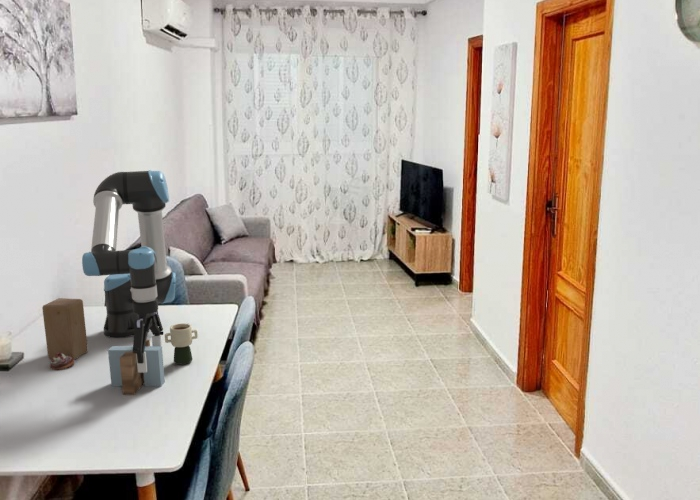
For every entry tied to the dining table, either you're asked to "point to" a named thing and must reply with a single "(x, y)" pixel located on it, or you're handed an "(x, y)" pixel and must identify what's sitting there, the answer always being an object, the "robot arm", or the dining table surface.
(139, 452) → the dining table surface
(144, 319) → the robot arm
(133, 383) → the wooden stepped blocks
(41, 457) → the dining table surface
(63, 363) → the pastry
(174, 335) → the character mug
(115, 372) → the blue arch block
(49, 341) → the wooden block
